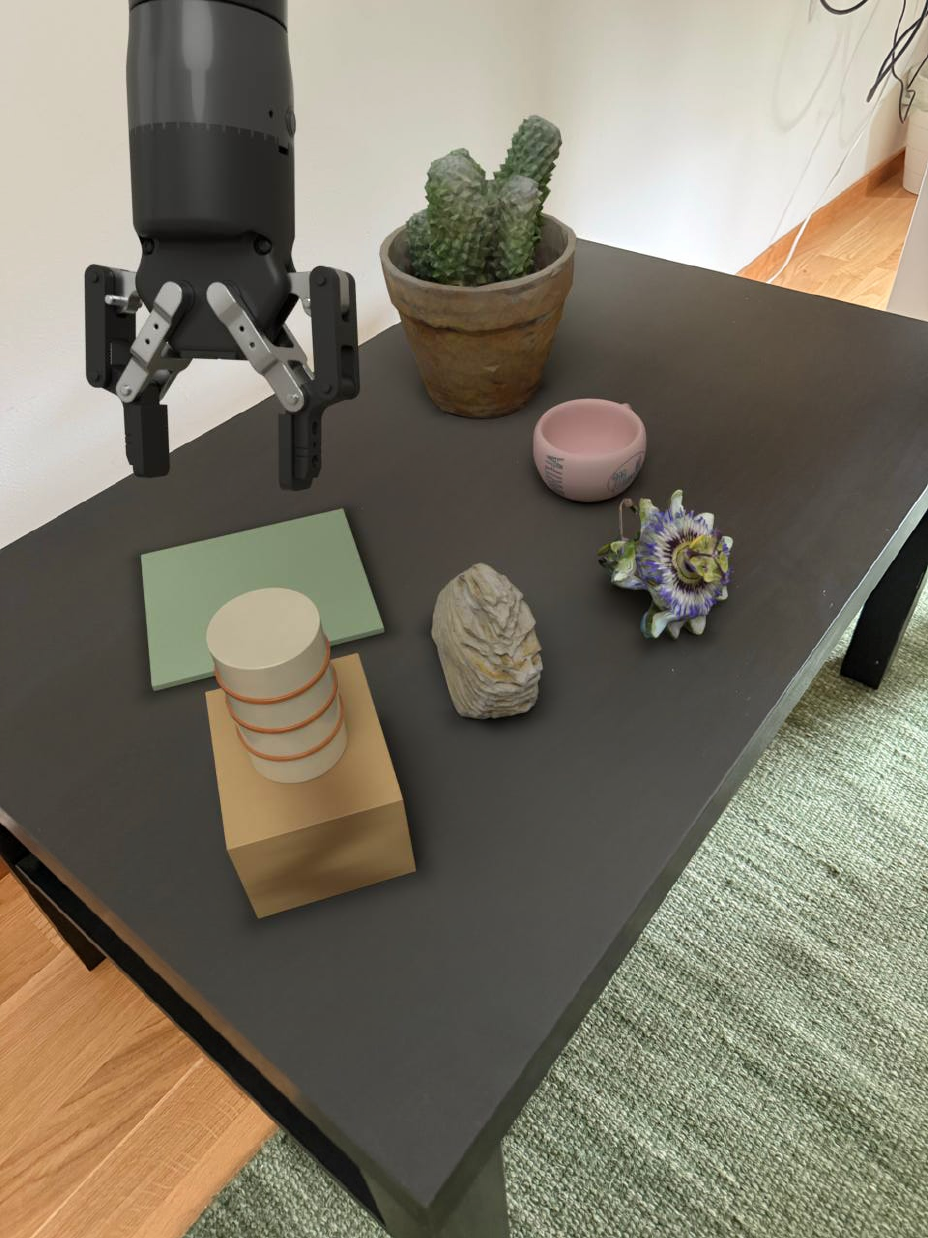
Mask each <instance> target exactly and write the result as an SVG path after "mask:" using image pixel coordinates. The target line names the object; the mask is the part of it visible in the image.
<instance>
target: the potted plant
mask: <svg viewBox="0 0 928 1238" xmlns="http://www.w3.org/2000/svg"><path fill="white" fill-rule="evenodd" d="M510 140H511V147H509V148H507V149H506V152H507V153H506V154H507V157H504V163H500V164H498V165H499V166H498V167H499V170H498V171H496V170H495V171H492V174H493V178H494V179H487V178H486V176H487V175H486V174H487V171H485V169H483V168H482V166H481V164H480V163H477V162H476V160H475V159H474V158H473V157H472V156H471V155H470V152H469V150H468V149H466V148H465V147H459V148H457V149H453V150H451V151H450V152H449V153H447V154H446V155H444V156H442V157H439V158H437V159H434V160H433V161H431V162H430V166H429V168H428V170H427V172H426V175H427V181H426V182H425V185H424V187H423V188H424V190H425V192H426V195H425V196H424V198H425V200H426V201H427V202H428V203H429V204H427V205H426V208H423V209H421V210H419V211H418V212H415V213H414V212H412V215H411V216H410V217H409V219H408V220H405V223H404V224H403V225H401V226H399V227H397V228H396V229H394V230H393V231H392V232H390V233H389V234H388V235H387V236H385V238H384V239H383V241H382V243H380V246H379V253H378V255H379V256H378V257H379V261H380V265H381V270H382V274H383V277H384V283H385V287H386V290H387V293H388V297H389V300H390V303H391V305H393V307H394V308H395V309H396V310H397V313H398V316H399V319H400V322H401V325H402V329H403V331H404V334H405V337H406V340H407V342H408V345H409V347H410V351H411V352H412V355H413V357H414V360H415V362H416V365H417V367H418V369H419V372H420V374H421V377H422V380H423V382H424V385H425V387H426V389H427V392H428V395H429V397H430V398H431V400H432V401H433V402H434V404H435V405H436V406H437V407H439V408H440V410H441V411H442V412H444V413H445V412H446V413H449V414H453V415H456V416H461V417H465V418H468V419H494V418H500V417H504V416H508V415H511V414H514V413H516V412H519V411H521V410H522V409H523V408H525V406H527V405H528V404H529V403H531V401H532V399H533V397H534V396H535V394H536V393H537V390H538V389H539V386H540V383H541V380H542V377H543V373H544V371H545V368H546V365H547V363H548V359H549V356H550V353H551V351H552V347H553V344H554V341H555V338H556V337H555V336H556V333H557V329H558V326H559V323H560V321H561V319H562V318H563V314H564V313H563V312H564V309H565V302H566V299H567V297H568V295H569V293H570V291H571V289H572V287H573V285H574V270H575V255H576V254H575V253H576V247H577V244H578V238H577V235H576V233H575V231H574V230H573V228H572V227H570V226H568V225H567V224H565V223H564V222H562V221H561V220H559V219H558V218H556V217H555V216H553V215H552V214H551V215H550V214H547V213H545V212H542V211H544V207H545V206H544V203H545V202H546V201H547V199H548V197H549V195H550V193H551V192H552V190H551V188H549V187H548V186H547V185H548V184H549V182H551V181H552V178H551V177H552V176H553V173H552V171H554V170H555V169H556V167H557V164H555V160H557V159H559V156H560V154H561V153H560V152H561V151H560V148H561V146H563V139H562V135H561V130H560V127H558V126H557V125H555V124H554V123H553V122H551V121H549V120H547V119H546V118H543V117H542V116H540V115H538V114H531V115H530V114H529V116H528V118H523V119H522V122H521V124H519V125H518V130H517V131H516V132H513V133H512V138H510Z"/></svg>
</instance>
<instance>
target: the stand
mask: <svg viewBox="0 0 928 1238" xmlns="http://www.w3.org/2000/svg"><path fill="white" fill-rule="evenodd" d="M330 660H331V663H332V665H333V666H334V668H335V671H336V674H337V679H338V688H337V689H338V692H339V693H340V695H341V697H342V700H343V704H344V719H345V723H346V727H347V733H348V740H347V745H346V748H345V751H344V753H343V755H342V756H341V758H340V759H339V761H338V762H337V763H336V764H335V765H334V766H333V767H332V768H331V769H330V770H328V771H327V772H326V773H324V774H322V775H320V776H319V777H316V778H314V779H312V780H309V781H305V782H301V783H279V782H275V781H272V780H269V779H267V778H265V777H263V776H262V775H261V774H259V773H258V772H257V771H256V770H255V769H254V767H253V766H252V764H251V762H250V760H249V757H248V754H247V752H246V749H245V747H244V746H243V745H242V744H241V742H240V740H239V738H238V735H237V732H236V722H235V720H234V719H233V718H232V716H231V715H230V713H229V711H228V709H227V705H226V702H225V692H224V691H223V690H222V688H221V687H220V688H217V689H212V690H209V691H205V693H204V694H205V700H206V701H205V702H206V708H207V715H208V716H207V717H208V724H209V730H210V737H211V745H212V753H213V759H214V766H215V767H214V768H215V773H216V782H217V789H218V797H219V802H220V811H221V818H222V824H223V832H224V839H225V847H226V852H227V853H228V855H229V858H230V860H231V862H232V864H233V867H234V870H235V871H236V874H237V876H238V878H239V880H240V882H241V884H242V887H243V888H244V891H245V893H246V895H247V897H248V900H249V902H250V904H251V906H252V909H253V911H254V913H255V915H256V917H257V919H258V920H259V919H262V918H265V917H266V918H267V917H269V916H272V915H276V914H278V913H282V912H285V911H289V910H292V909H295V908H298V907H301V906H305V905H309V904H312V903H316V902H319V901H322V900H326V899H328V898H332V897H335V896H338V895H343V894H345V893H348V892H352V891H355V890H359V889H361V888H362V889H363V888H366V887H368V886H372V885H375V884H379V883H382V882H385V881H388V880H391V879H395V878H399V877H401V876H405V875H409V874H411V873H415V872H416V871H417V868H416V862H415V857H414V852H413V847H412V841H411V836H410V830H409V825H408V819H407V818H408V817H407V814H406V809H405V802H404V798H403V795H402V792H401V789H400V785H399V782H398V778H397V776H396V775H397V774H396V772H395V769H394V766H393V765H394V764H393V762H392V758H391V756H390V752H389V749H388V745H387V741H386V739H385V736H384V733H383V729H382V726H381V722H380V719H379V716H378V714H377V713H378V712H377V709H376V706H375V703H374V700H373V697H372V693H371V690H370V687H369V684H368V681H367V676H366V674H365V671H364V668H363V664H362V661H361V658H360V654H359V653H358V652H355V653H352V654H351V653H350V654H347V655H345V656H344V655H343V656H339V657H336V658H332V659H330Z"/></svg>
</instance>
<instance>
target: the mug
mask: <svg viewBox="0 0 928 1238" xmlns="http://www.w3.org/2000/svg"><path fill="white" fill-rule="evenodd" d="M632 409H633V408H632V406H631V405H630V404H629V403H621V404H620V403H618V402H615V401H611V400H607V399H601V398H579V399H573V400H568V401H565V402H561V403H559V404H557V405H555V406H553V407H551V408H549V409H548V410H547V411H545V412H544V414H542V415H541V417H540V418H539V419H538V420H537V422H536V424H535V427H534V431H533V435H532V436H533V438H532V455H533V460H534V463H535V466H536V469H537V470H538V473H539V476H541V479H542V480H543V482H544V483H545V484H546V485H547V487H548V488H549V489H550V490H551V491H553V492H554V493H555V494H556V495H559V496H561V497H563V498H566V499H568V500H570V501H577V502H580V503H581V502H583V503H593V502H601V501H606V500H609V499H612V498H615V497H616V496H618V495H620V494H622V493H623V492H624V491H625V490H627V488H629V486H631V485H632V483H633V481H635V479H636V477H637V475H638V474H639V472H640V470H641V469H642V467H643V463H644V461H645V456H646V451H647V433H646V428H645V425H644V422H643V421H642V419H641V417H639V415H637V413H636V412H635V411H633V410H632Z"/></svg>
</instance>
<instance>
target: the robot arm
mask: <svg viewBox="0 0 928 1238" xmlns="http://www.w3.org/2000/svg"><path fill="white" fill-rule="evenodd" d="M127 3H128V33H127V35H128V36H127V47H126V57H125V59H126V61H125V83H126V84H125V86H126V88H125V89H126V105H127V106H126V108H127V109H126V110H127V130H128V144H129V145H128V149H129V152H128V153H129V169H130V170H129V171H130V189H131V211H132V226H133V229H134V231H135V233H136V235H137V237H138V240H139V242H140V246H141V258H140V262H139V265H138V268H137V270H136V271H132V270H129V269H124V268H118V267H113V266H106V265H102V264H95V263H92V264H90V265H88V266H87V267H86V268H85V271H84V336H85V338H84V341H85V342H84V344H85V346H84V347H85V378H86V382H87V383H88V384H89V386H91V387H92V388H95V389H103V390H104V391H107V392H109V393H111V394H113V395H115V396H116V397H117V398H118V400H119V401H120V402H121V405H122V409H123V426H124V444H125V445H124V446H125V448H124V449H125V456H126V459H127V462H128V465H129V466H132V472H133V475H134V476H135V477H137V478H145V479H153V478H160V477H166V476H168V474H169V473H170V470H171V462H170V461H171V458H170V457H171V455H170V432H169V431H170V429H169V409H168V408H169V406H168V404H164V403H163V404H162V403H161V401H162V400H164V398H165V396H166V395H167V393H168V391H169V389H170V388H171V386H172V385H173V383H174V381H175V380H176V378H177V376H178V375H179V374H180V373H181V372H183V371H185V370H186V369H187V368H188V367H189V366H190V364H191V363H192V361H193V359H195V360H197V359H198V360H224V361H242V362H243V361H244V362H249V364H250V365H251V367H252V368H253V369H254V371H255V372H256V373H257V374H258V375H260V376H262V377H263V378H264V379H265V380H266V382H267V383H268V385H269V386H270V388H271V390H272V391H273V392H274V394H275V396H276V397H277V399H278V401H279V402H280V403H281V405H282V406H283V408H284V409H285V413H278V415H277V423H278V425H277V426H278V427H277V429H278V434H277V435H278V485H279V488H280V490H282V491H287V492H299V491H304V490H309V489H310V488H311V487H312V486H313V480H314V479H318V478H319V476H320V473H321V470H322V418H323V414H324V412H325V411H326V409H327V408H329V407H330V406H333V405H335V404H338V403H341V402H345V401H351V400H354V399H356V398H357V397H358V395H360V390H361V382H360V381H361V379H360V378H361V377H360V355H359V354H360V353H359V352H360V351H359V334H358V333H359V331H358V311H357V306H358V305H357V288H356V280H355V278H354V275H352V274H351V273H350V272H348V271H345V270H342V269H341V268H336V267H332V266H325V265H317V266H315V267H314V268H312V270H310V271H297V269H296V267H295V264H294V260H293V256H292V255H293V254H292V252H293V247H294V242H295V238H296V187H295V185H296V180H295V179H296V174H295V173H296V172H295V171H296V169H295V167H296V165H295V160H296V159H295V134H296V130H297V119H296V114H295V94H294V93H295V92H294V91H295V89H294V88H295V87H294V80H293V79H294V78H293V71H292V65H291V57H290V47H289V46H290V45H289V0H128V2H127ZM299 300H300V301H301V305H302V308H303V311H304V313H305V314H306V315H307V316H308V317H310V320H311V322H310V323H311V339H312V343H311V344H312V359H313V360H312V361H313V371H312V369H311V368H310V365H308V357H307V356H308V355H306V353H305V351H304V349H303V348H302V346H301V345H300V344H299V342H298V340H297V339H296V337H295V336H294V335H293V332H292V331H291V330H290V328H289V326H288V325H287V323H286V321H287V320H288V318H289V317H290V315H291V314H292V312H293V310H294V308H295V306H296V305H297V303H298V302H299ZM143 305H144V307H145V308H146V310H147V311H148V313H149V315H148V317H147V318H146V320H145V322H144V323H143V325H142V327H141V329H140V330H139V332H138V335H137V312H138V311H139V309H141V308H143Z"/></svg>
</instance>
